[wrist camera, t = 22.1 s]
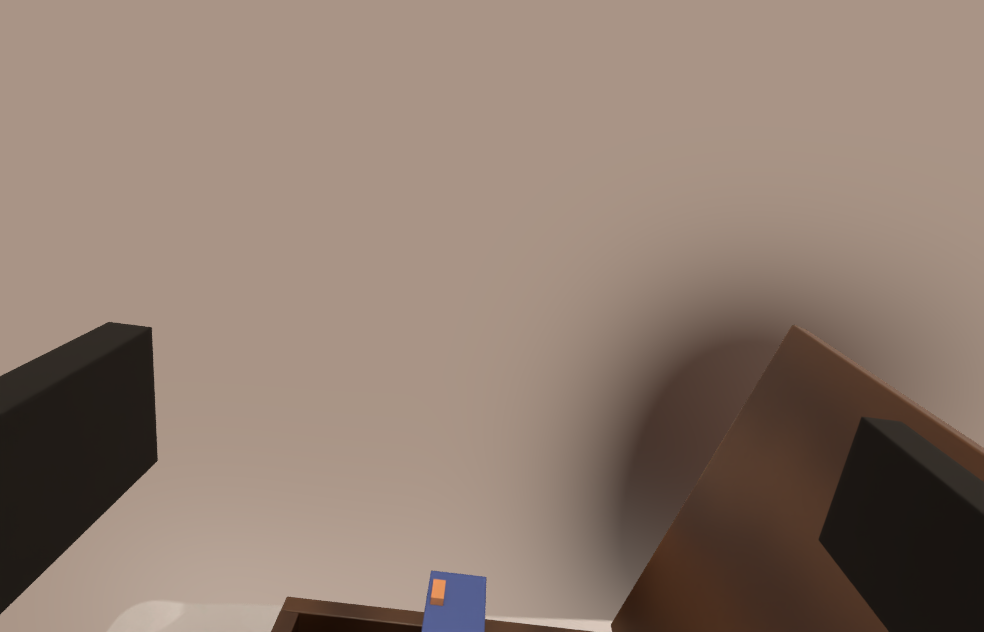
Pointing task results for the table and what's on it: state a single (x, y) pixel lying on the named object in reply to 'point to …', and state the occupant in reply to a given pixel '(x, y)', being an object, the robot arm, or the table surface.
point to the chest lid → (777, 505)
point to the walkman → (455, 603)
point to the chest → (370, 619)
